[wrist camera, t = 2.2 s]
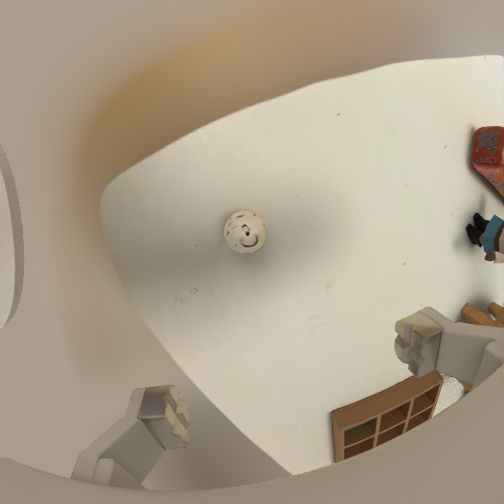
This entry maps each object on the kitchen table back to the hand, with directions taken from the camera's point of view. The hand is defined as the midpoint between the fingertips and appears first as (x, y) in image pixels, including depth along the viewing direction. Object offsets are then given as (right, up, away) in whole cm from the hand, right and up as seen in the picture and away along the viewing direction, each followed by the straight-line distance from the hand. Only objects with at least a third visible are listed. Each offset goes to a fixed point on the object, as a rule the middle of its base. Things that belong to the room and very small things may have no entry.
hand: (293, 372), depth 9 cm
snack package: (+34, +14, +16) cm, 40 cm away
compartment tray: (+18, -22, +23) cm, 36 cm away
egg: (-2, +6, +14) cm, 15 cm away
